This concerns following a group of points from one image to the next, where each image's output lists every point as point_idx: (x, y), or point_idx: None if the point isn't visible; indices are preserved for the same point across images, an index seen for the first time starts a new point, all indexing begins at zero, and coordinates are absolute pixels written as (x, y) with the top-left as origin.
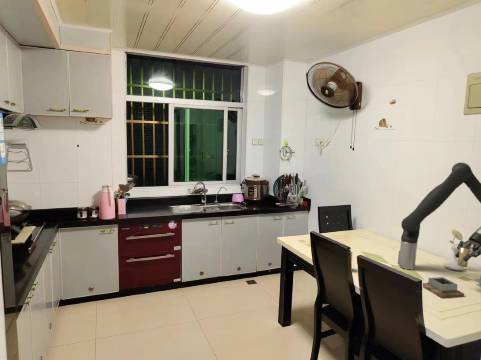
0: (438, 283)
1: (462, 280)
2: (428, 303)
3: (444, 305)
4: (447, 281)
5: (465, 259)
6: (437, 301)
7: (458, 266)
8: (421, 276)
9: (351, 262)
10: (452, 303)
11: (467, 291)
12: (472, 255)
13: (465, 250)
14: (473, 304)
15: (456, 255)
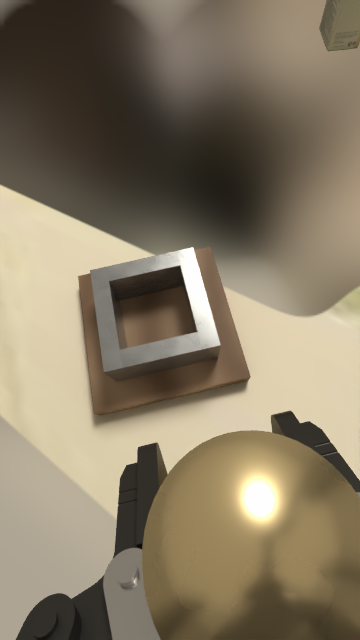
0: (119, 264)
1: None
2: (43, 211)
3: (20, 262)
4: (161, 341)
5: (136, 469)
6: (55, 252)
7: None
8: (348, 316)
9: (341, 3)
10: (32, 306)
11: None
12: (77, 602)
13: (155, 499)
14: (12, 406)
15: (273, 418)
